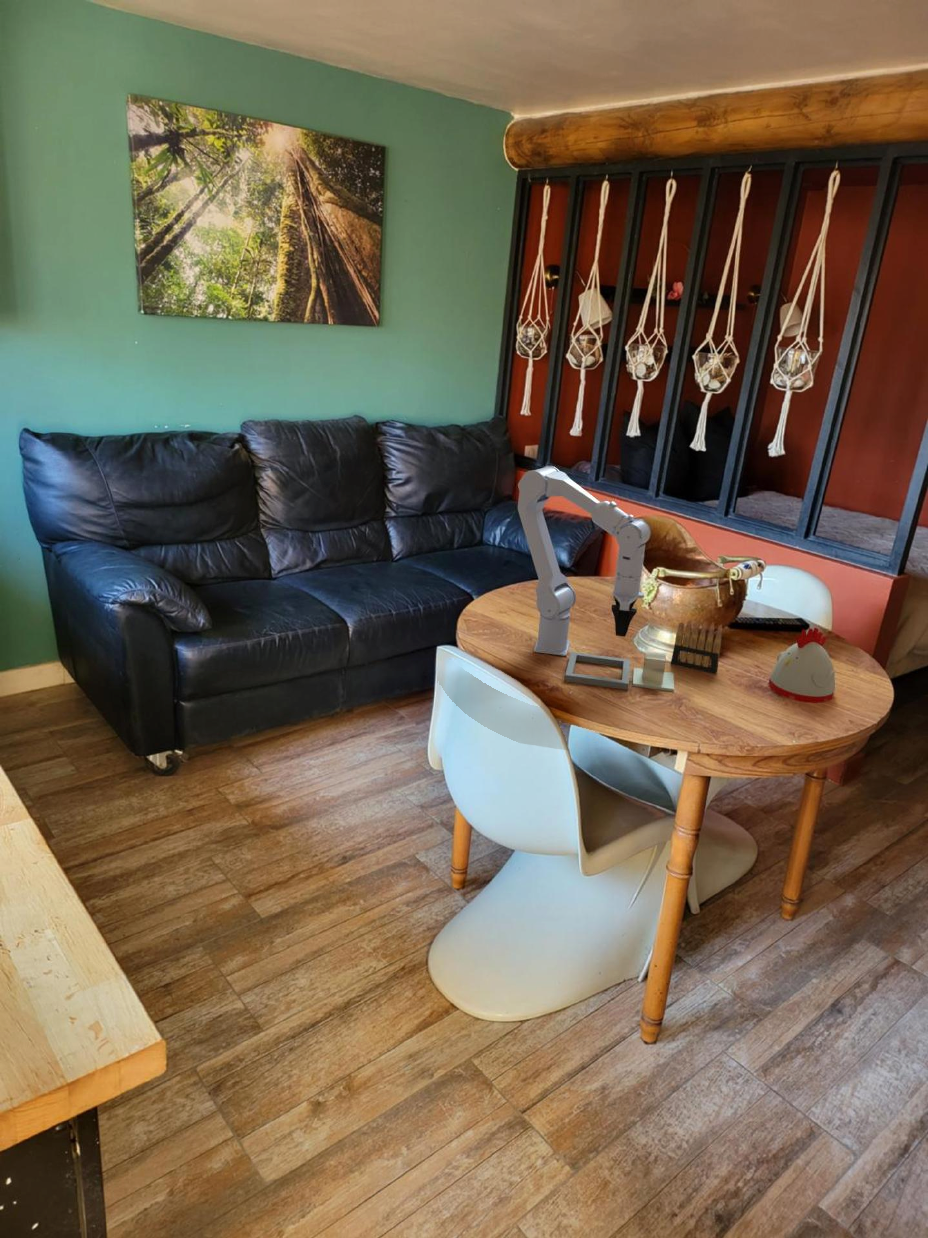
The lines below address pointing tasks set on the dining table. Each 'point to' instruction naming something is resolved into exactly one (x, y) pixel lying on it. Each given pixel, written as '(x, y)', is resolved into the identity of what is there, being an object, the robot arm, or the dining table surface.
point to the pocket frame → (593, 679)
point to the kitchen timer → (804, 670)
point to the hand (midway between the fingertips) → (621, 629)
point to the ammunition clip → (697, 648)
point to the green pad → (666, 685)
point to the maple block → (654, 667)
